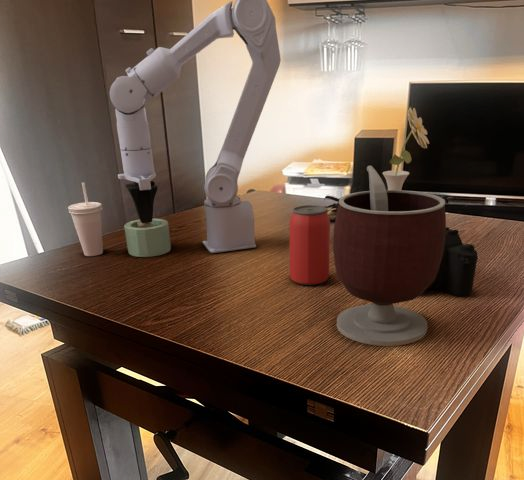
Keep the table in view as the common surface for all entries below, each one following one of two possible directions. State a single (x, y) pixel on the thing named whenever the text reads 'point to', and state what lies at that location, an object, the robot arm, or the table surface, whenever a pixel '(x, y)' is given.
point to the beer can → (309, 245)
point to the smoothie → (88, 225)
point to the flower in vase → (406, 152)
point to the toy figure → (332, 207)
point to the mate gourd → (387, 259)
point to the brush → (145, 224)
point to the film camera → (456, 266)
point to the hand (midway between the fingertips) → (145, 221)
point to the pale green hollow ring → (148, 238)
